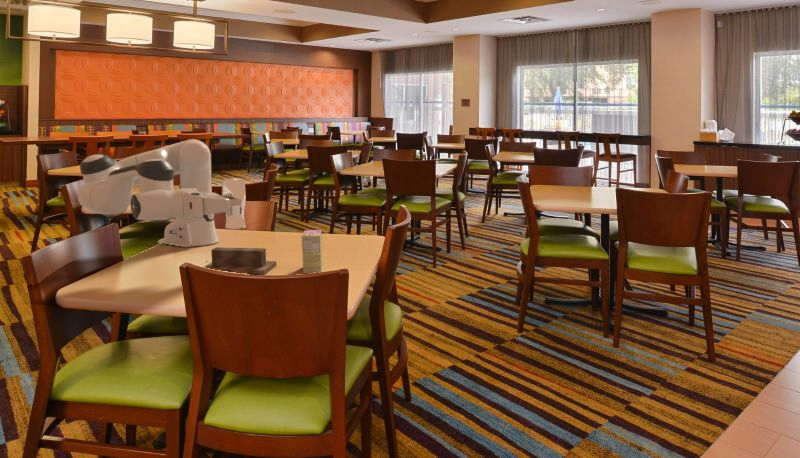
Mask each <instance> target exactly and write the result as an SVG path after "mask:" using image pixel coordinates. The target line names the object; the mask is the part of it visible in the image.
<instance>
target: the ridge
mask: <svg viewBox="0 0 800 458" xmlns="http://www.w3.org/2000/svg"><path fill="white" fill-rule="evenodd" d="M266 251H267V250H266V248H265V247H264V248H262V247H258V248H257V247H221V246H220V247H219V246H218V247H214V248H213V249H211V262H210V263H208V264H206V265H205V266H203V267H206V268H210V269H215V270H221V271H228V272H236V273H247V274H258V275H257V276H265V275H266V274H268V273H269V272H270V271H271V270H273V269H274V268H276V267H277V260H267V254H266V253H267V252H266Z"/></svg>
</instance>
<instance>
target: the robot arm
mask: <svg viewBox="0 0 800 458" xmlns="http://www.w3.org/2000/svg"><path fill="white" fill-rule="evenodd" d="M79 170H80V174H81V175H82V177H83V178H82V179H83V180H84V184H83V185H82V186H80V188H79V190H78V191H77V200H78V203H79V205H80V206H82V208H84V209H85V210H87V211H90V212H93V213H95V214H100V215H102V216H104V217H108V218H109V217H116V216H119V215H121V214H124V213H125V212H126V211H127V210H128V208H129V207H130V211H131V214H132V216H133V218H134V219H135V220H139V221H140V220H142V221H149V222H151V223H164V222H169V221H170V220H171V219H173V220H172V221H171V222H170V223H168V225H166V226H165V229H164V237H163V238H161V239H159V240H158V241H157V243H158V244H159V245H165V244H169V245H168V246H172V245H175V246H174V247H179V246H181V247H180V248H189V247H199V246H200V247H201V246H209V245H214V244H217V243H219V241H220V240H219V239H220V238H218V237H219V236H218V235H217V230H216V226H215V214H221V213H222V214H223V213H226V212H227V211H229V210H230V207H232V206H236V205H241V204H242V202H241V199H227V198H225V197H223V196H222V195H221V194H218V193H216V192H212V191H213V189H212V154H211V151H210V148H209V147H208V145H207V144H206V143H204V142H203V141H201V140H199V139H196V138H195V139H194V138H192V139H187V140H183V141H180V142H176V143H173V144H170V145H166V146H162V147H159V148H156V149H153V150H149V151H148V150H147V151H146V152H145V151H144V152H141V153H138V154H134V155H130V156H128V157H126V158H125V157H124V158H122V159H120V160H117V159H114V158H111V156H109V155H106V154H103V153H102V154H99V153H98V154H97V153H96V154H92V155H88V156H87V157H86V158H84V159H83V160H81V162H80V164H79ZM177 175H179V179H180V188H177V189H174V177H175V176H177ZM135 187H139V192H136V193H134V188H135ZM163 243H164V244H163Z"/></svg>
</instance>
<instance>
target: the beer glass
mask: <svg viewBox="0 0 800 458" xmlns="http://www.w3.org/2000/svg"><path fill="white" fill-rule="evenodd" d="M221 183H222V185H221V194H222V195H221V196H223V197H225V198H227V199H241V202H242V204H241V205H236V206H232V207H230V210H229V211H227V212H225V229H228V230H241V229H245V228H246V226H247V225H246V220H245V206H246V198H247V196H246V195H247V193H246V191H247V190H246V184H245V178H242V177H228V178H223V179H221Z"/></svg>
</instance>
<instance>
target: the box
mask: <svg viewBox="0 0 800 458" xmlns="http://www.w3.org/2000/svg"><path fill="white" fill-rule="evenodd" d="M301 248H302V249H301V251H302V252H301V253H302V273H303V274H304V273H306V274H313V273H312V272H321V271H323V266H324V265H323V264H324V263H323V237H322V229H320V230H319V229H309V230H304V231H303V233H302V235H301ZM321 273H322V272H321Z"/></svg>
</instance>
